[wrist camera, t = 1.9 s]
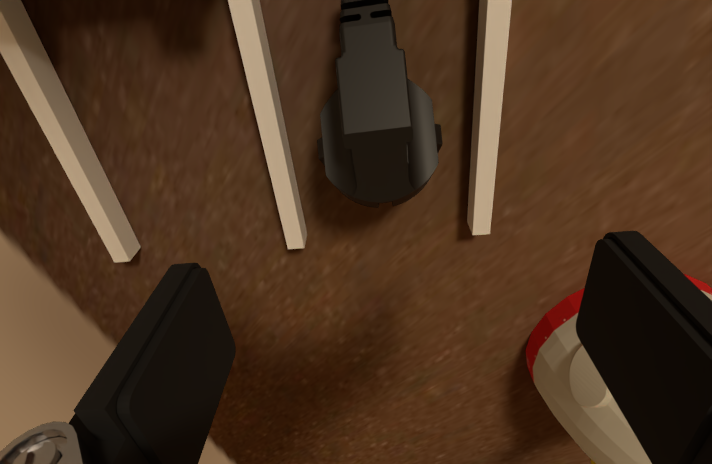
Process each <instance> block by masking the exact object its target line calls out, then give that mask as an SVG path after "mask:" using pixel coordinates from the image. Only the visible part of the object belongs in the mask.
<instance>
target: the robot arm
mask: <svg viewBox="0 0 712 464" xmlns="http://www.w3.org/2000/svg"><path fill="white" fill-rule="evenodd" d="M576 333H577V336H578V338H579V340H580V342H581V343H582V345H583V347H584V349H585V350H586V352H587V354H588V355H589V357H590V359H591V360H592V362H593V364H594V366H595V367H596V369H597V371H598V372H599V374H600V376H601V378H602V379H603V381H604V383H605V384H606V386H607V388H608V390H609V391H610V393H611V395H612V396H613V398H614V400H615V401H616V403H617V405H618V407H619V408H620V410H621V412H622V413H623V415H624V417H625V419H626V420H627V422H628V424H629V425H630V427H631V429H632V430H633V432H634V434H635V436H636V437H637V439H638V441H639V442H640V444H641V446H642V448H643V449H644V451H645V453H646V454H647V456H648V458H649V459H650V461H651V463H652V464H712V300H711V299H710V298H708V297H707V296H706V295H705V294H704V293H703V292H702V291H701V290H700V289H699V288H698V287H697V286H696V285H695V284H694V283H692V282H691V281H690V280H689V279H688V278H687V277H686V276H685V275H684V274H683V273H682V272H681V271H680V270H679V269H678V268H677V267H675V266H674V265H673V264H672V263H671V262H670V261H669V260H668V259H667V258H666V257H665V256H664V255H663V254H662V253H661V252H660V251H658V250H657V249H656V248H655V247H654V246H653V245H652V244H651V243H650V242H649V241H648V240H647V239H646V238H645V237H644V236H643V235H641V234H640V233H639V232H637V231H623V232H610V233H607V234H606V235H605V236H604V238H603V239H600V240H598V241H597V243H596V245H595V249H594V253H593V257H592V261H591V265H590V269H589V273H588V277H587V281H586V285H585V289H584V293H583V297H582V300H581V304H580V308H579V312H578V316H577V320H576ZM234 357H235V342H234V340H233V337H232V334H231V332H230V329H229V326H228V324H227V321H226V318H225V316H224V313H223V310H222V308H221V305H220V302H219V299H218V297H217V294H216V291H215V289H214V286H213V283H212V281H211V278H210V275H209V273H208V271H207V269H206V268H201V267H200V265H199V264H198V263H185V264H174V265H172V266H171V267H170V268H169V269H168V271H167V272H166V274H165V275H164V277H163V278H162V280H161V281H160V283H159V284H158V285H157V287H156V288H155V290H154V291H153V293H152V294H151V296H150V297H149V299H148V300H147V302H146V303H145V305H144V306H143V308H142V309H141V311H140V312H139V314H138V315H137V317H136V318H135V320H134V321H133V323H132V324H131V326H130V327H129V329H128V330H127V332H126V333H125V335H124V336H123V338H122V339H121V341H120V342H119V344H118V345H117V347H116V348H115V350H114V351H113V353H112V354H111V356H110V357H109V358H108V360H107V361H106V363H105V364H104V366H103V367H102V369H101V370H100V372H99V373H98V375H97V376H96V378H95V379H94V381H93V383H92V384H91V385H90V387H89V388H88V390H87V391H86V393H85V394H84V396H83V397H82V399H81V400H80V402H79V403H78V405H77V406H76V408H75V409H74V412H75V415H74V416H73V418H72V419H71V421H70V422H69V424H68V423H66V422H51V423H46V424H42V425H40V426H37V427H35V428H33V429H31V430H29V431H27V432H25V433H24V434H22V435H21V436H19V437H17V438H16V439H14V440H13V441H12V442H11V443H10V444H8V445H7V446H6V447H5V448H4V449H3V450H2V451H0V464H198V462H199V459H200V456H201V453H202V450H203V447H204V444H205V442H206V439H207V436H208V433H209V430H210V427H211V424H212V421H213V418H214V415H215V413H216V410H217V407H218V404H219V401H220V398H221V395H222V392H223V389H224V386H225V383H226V381H227V378H228V375H229V372H230V369H231V366H232V363H233V360H234Z"/></svg>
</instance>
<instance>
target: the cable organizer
mask: <svg viewBox="0 0 712 464" xmlns="http://www.w3.org/2000/svg"><path fill="white" fill-rule="evenodd" d="M228 3H229V7H230V11H231V15H232V20H233V24H234V28H235V32H236V36H237V40H238V44H239V49H240V53H241V57H242V61H243V65H244V69H245V73H246V78H247V82H248V86H249V90H250V94H251V98H252V102H253V107H254V111H255V115H256V119H257V123H258V127H259V131H260V136H261V140H262V144H263V148H264V152H265V156H266V160H267V164H268V169H269V173H270V177H271V181H272V185H273V189H274V193H275V198H276V202H277V206H278V210H279V214H280V218H281V222H282V227H283V231H284V235H285V239H286V243H287V247H288V249H299V248H304V247H305V242H306V237H307V231H306V226H305V221H304V216H303V211H302V207H301V202H300V197H299V192H298V187H297V182H296V177H295V172H294V167H293V163H292V158H291V153H290V148H289V143H288V138H287V133H286V128H285V123H284V118H283V114H282V109H281V104H280V99H279V94H278V89H277V84H276V79H275V74H274V70H273V65H272V60H271V55H270V50H269V45H268V40H267V35H266V30H265V25H264V21H263V16H262V11H261V6H260V1H259V0H228ZM511 3H512V0H479V15H478V33H477V51H476V69H475V87H474V105H473V123H472V141H471V159H470V177H469V195H468V213H467V223H468V225H469V228H470V230H471V233H472V235H483V234H490V227H491V216H492V206H493V195H494V184H495V174H496V163H497V152H498V142H499V131H500V120H501V110H502V99H503V88H504V78H505V67H506V56H507V46H508V35H509V24H510V14H511ZM0 53H1V54H2V56H3V58H4V60H5V62H6V64H7V65H8V67H9V69H10V71H11V73H12V75H13V77H14V78H15V80H16V82H17V84H18V86H19V88H20V89H21V91H22V93H23V95H24V97H25V99H26V100H27V102H28V104H29V106H30V108H31V110H32V111H33V113H34V115H35V117H36V119H37V121H38V123H39V124H40V126H41V128H42V130H43V132H44V134H45V135H46V137H47V139H48V141H49V143H50V145H51V146H52V148H53V150H54V152H55V154H56V156H57V157H58V159H59V161H60V163H61V165H62V167H63V169H64V170H65V172H66V174H67V176H68V178H69V180H70V181H71V183H72V185H73V187H74V189H75V191H76V192H77V194H78V196H79V198H80V200H81V202H82V203H83V205H84V207H85V209H86V211H87V213H88V215H89V216H90V218H91V220H92V222H93V224H94V226H95V227H96V229H97V231H98V233H99V235H100V237H101V238H102V240H103V242H104V244H105V246H106V248H107V249H108V251H109V253H110V255H111V257H112V259H113V261H114V262H128V261H131V259H132V258H133V257H134V255H135V254H136V253H137V252H138V250H139V249H140V248H141V246H140V244H139V242H138V240H137V238H136V236H135V234H134V232H133V230H132V228H131V226H130V224H129V222H128V220H127V218H126V216H125V213H124V211H123V209H122V207H121V205H120V203H119V201H118V199H117V197H116V195H115V193H114V191H113V189H112V187H111V185H110V183H109V181H108V178H107V176H106V174H105V172H104V170H103V168H102V166H101V164H100V162H99V160H98V158H97V156H96V154H95V152H94V150H93V148H92V146H91V143H90V141H89V139H88V137H87V135H86V133H85V131H84V129H83V127H82V125H81V123H80V121H79V119H78V117H77V115H76V113H75V111H74V108H73V106H72V104H71V102H70V100H69V98H68V96H67V94H66V92H65V90H64V88H63V86H62V84H61V82H60V80H59V78H58V76H57V73H56V71H55V69H54V67H53V65H52V63H51V61H50V59H49V57H48V55H47V53H46V51H45V49H44V47H43V45H42V43H41V41H40V38H39V36H38V34H37V32H36V30H35V28H34V26H33V24H32V22H31V20H30V18H29V16H28V14H27V12H26V10H25V8H24V6H23V3H22V1H21V0H0Z"/></svg>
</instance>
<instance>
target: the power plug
mask: <svg viewBox="0 0 712 464" xmlns="http://www.w3.org/2000/svg"><path fill="white" fill-rule="evenodd" d="M341 10H342V11H341V13H340V22H341V24H340V29H339V33H340V43H341V57H339V58H336V60H335V63H336V74H337V84H338V89H337V90H336V91H335V92H334V94H333V95H332V96H331V97H330V99H329V100H328V101H327V103H326V104H325V106H324V108H323V110H322V111H321V114H320V118H321V128H322V138H320V139H318V140H317V143H318V154H319V159H320V160H321V161H322V163H323V164H324V165H325V170H326V176H327V177H328V179H329V180H330V181H331V182H332V183H333V184H334V185H335V186H336V187H337V188H338V189H339V190H340V191H341V192H342V193H343V194H344V195H345V196H346V197H348V198H349V199H351V200H352V201H354V202H356V203H359V204H361V205H364V206H369V207H376V208H378V207H379V203H386V202H392V205H393V206H395V205H398V204H401V203H404V202H406V201H408V200H409V199H411V198H412V197H414V196H415V195H417V194H418V193H419V192H420V191H421V190H422V189H423V188H424V186H425V185H426V184H427V182H428V181H429V179H430V178H431V176H432V174H433V172H434V170H435V169H436V167H437V165H438V152H439V150H440V148H441V146H442V135H441V126H440V125H439V124H434V116H433V107H432V100H431V98H430V97H429V96H428V95H427V94H426V93H425V92H424V91H423V90H422V89H421V88H420V87H418V86H417V85H416V84H415V83H413V82H412V81H410V80H409V79H407V70H406V60H405V51H404V50H403V49H398V48H397V42H396V32H395V23H394V20H393V17H392V15H391V8H390V5H389V4H388V0H341Z"/></svg>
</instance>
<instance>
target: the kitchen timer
mask: <svg viewBox="0 0 712 464" xmlns="http://www.w3.org/2000/svg"><path fill="white" fill-rule="evenodd" d="M684 275H685V276H686V277H687V278H688V279H689V280H690V281H691V282H692V283H694V284H695V285H696V286H697V287H698V288H699V289H700V290H701V291H702V292H703V293H704V294H705V295H706V296H707V297H708V298H710V299H711V300H712V289H711V288H710V287H709V286H708V285H707V284H706V283H703V282H701V281H699V280H697V279H695V278H692V277H690V276H688V275H686V274H684ZM584 289H585V288H584ZM584 289H582V290H580V291H578V292H576V293H574V294H572V295H570V296H568V297H566V298H565V299H564V300H562V301H561V302H560V303H559V304H557V305H556V306H555V307H554V308H552V309H551V310H550V311H549V312H547V313H546V314H545V315H544V317H543V318H542V319H541V321H540V322H539V323H538V324H537V326H536V327H535V328H534V330H533V331H532V332H531V335H530V338H529V341H528V344H527V347H526V360H527V367H528V369H529V372H530V374H531V377H532V379H533V382H534V384H535V386H536V388H537V390H538V391H539V393H540V394H541V396H542V398H543V399H544V401H545V402H546V404H547V405H548V407H549V409H550V410H551V412H552V413H553V415H554V416H555V417H556V419H557V420H558V421H559V422H560V424H561V425H562V426H563V427H564V429H565V430H566V431H567V432H568V433H569V435H570V436H571V437H572V438H573V439H574V441H575V442H576V443H577V444H578V445H579V447H580V448H581V449H582V450H583V451H584V452H585V453H586V454H587V455H588V456H589V457H590V459H591V464H652V463H651V461H650V459H649V458H648V456H647V454H646V453H645V451H644V449H643V448H642V446H641V444H640V442H639V441H638V439H637V437H636V436H635V434H634V432H633V430H632V429H631V427H630V425H629V424H628V422H627V420H626V419H625V417H624V415H623V413H622V412H621V410H620V408H619V407H618V405H617V403H616V401H615V400H614V398H613V396H612V395H611V393H610V391H609V390H608V388H607V386H606V384H605V383H604V381H603V379H602V378H601V376H600V374H599V372H598V371H597V369H596V367H595V366H594V364H593V362H592V360H591V359H590V357H589V355H588V354H587V352H586V350H585V349H584V347H583V345H582V343H581V342H580V340H579V338H578V336H577V333H576V320H577V316H578V312H579V308H580V304H581V300H582V297H583V293H584Z"/></svg>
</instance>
